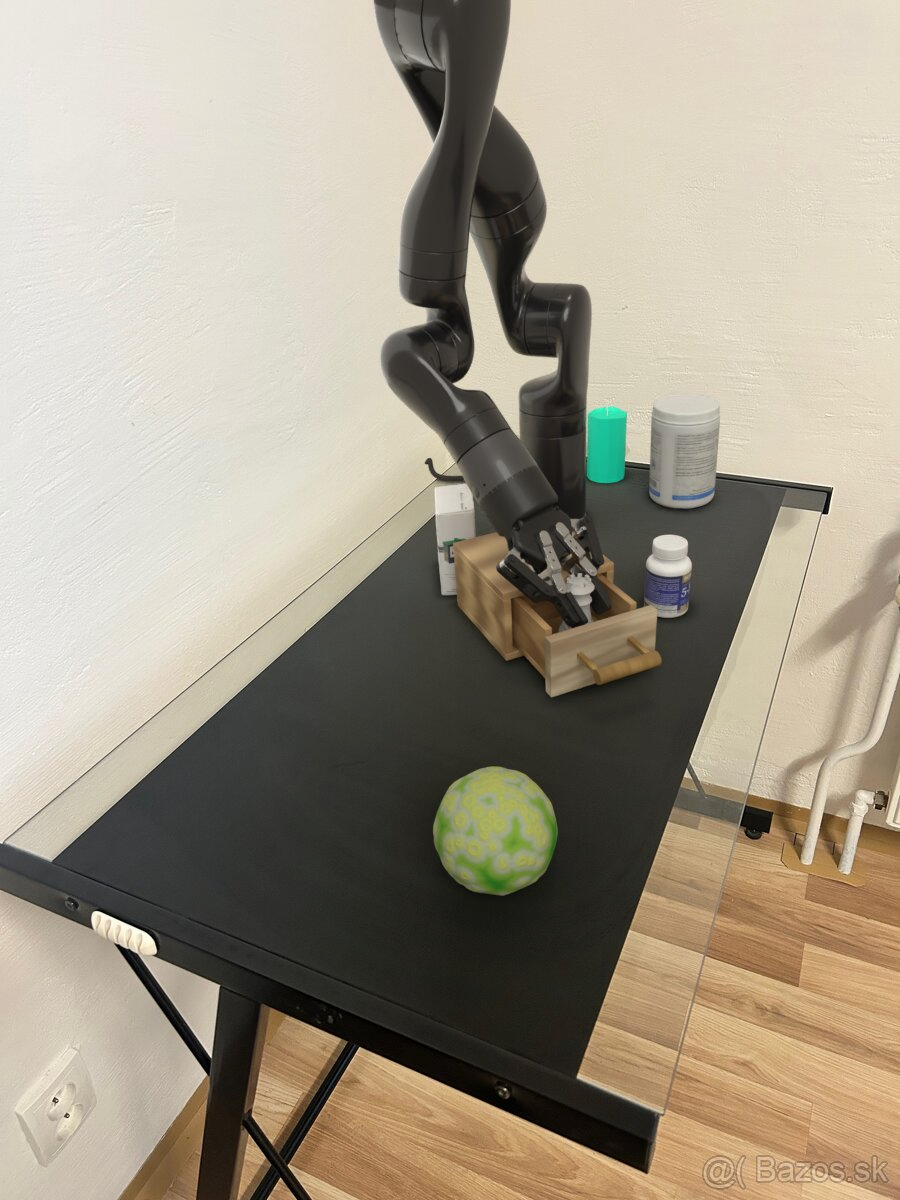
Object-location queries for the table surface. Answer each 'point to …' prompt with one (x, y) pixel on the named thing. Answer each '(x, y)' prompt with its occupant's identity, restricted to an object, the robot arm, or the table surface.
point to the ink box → (452, 529)
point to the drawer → (586, 641)
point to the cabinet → (493, 588)
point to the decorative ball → (495, 831)
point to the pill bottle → (668, 576)
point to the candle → (606, 444)
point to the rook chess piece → (580, 595)
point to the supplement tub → (684, 450)
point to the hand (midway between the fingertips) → (593, 618)
